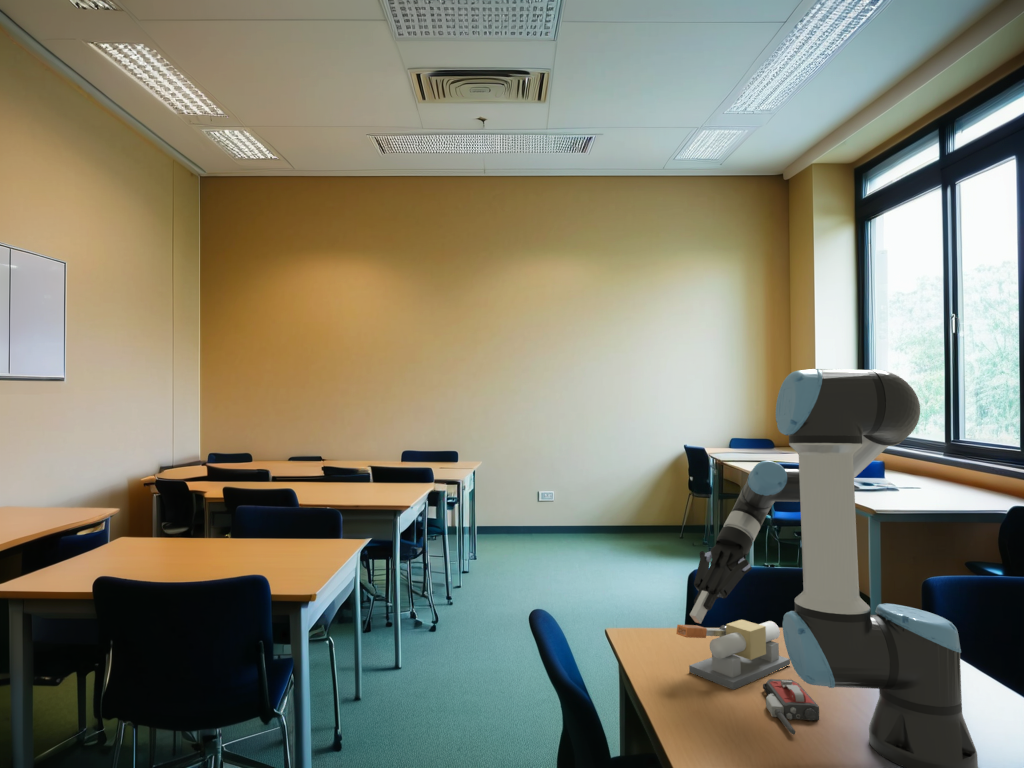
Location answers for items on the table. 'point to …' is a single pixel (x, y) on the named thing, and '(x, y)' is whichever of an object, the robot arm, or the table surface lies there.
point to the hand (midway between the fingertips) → (695, 619)
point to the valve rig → (742, 654)
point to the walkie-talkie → (789, 702)
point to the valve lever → (699, 631)
